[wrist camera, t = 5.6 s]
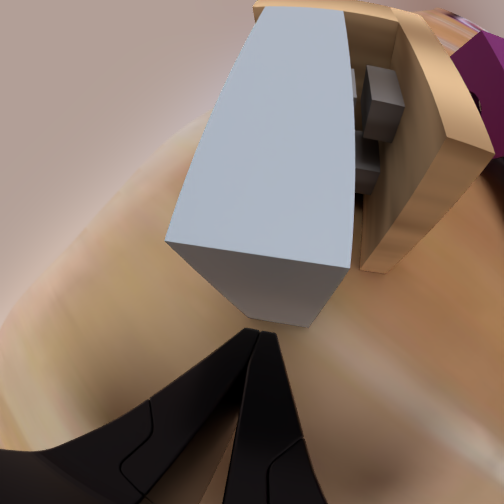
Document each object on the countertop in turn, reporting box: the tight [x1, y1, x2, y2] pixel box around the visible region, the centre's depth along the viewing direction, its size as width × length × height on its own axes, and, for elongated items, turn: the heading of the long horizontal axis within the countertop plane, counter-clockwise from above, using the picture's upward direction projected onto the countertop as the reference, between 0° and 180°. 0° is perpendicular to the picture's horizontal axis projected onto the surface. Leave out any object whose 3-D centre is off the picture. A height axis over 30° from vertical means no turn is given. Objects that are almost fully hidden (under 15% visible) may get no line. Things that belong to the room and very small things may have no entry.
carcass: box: [253, 0, 495, 274], centre depth 11 cm, size 9×7×10 cm
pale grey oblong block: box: [164, 6, 357, 328], centre depth 11 cm, size 10×5×10 cm, turn 169°
